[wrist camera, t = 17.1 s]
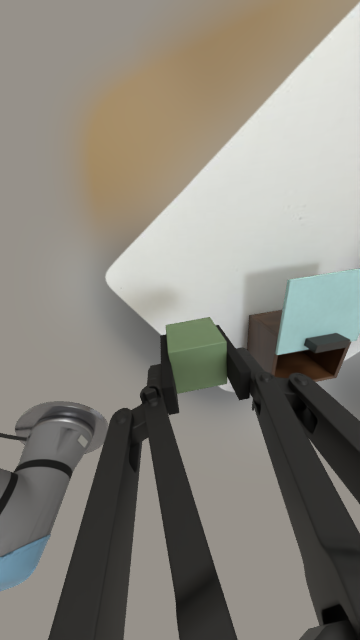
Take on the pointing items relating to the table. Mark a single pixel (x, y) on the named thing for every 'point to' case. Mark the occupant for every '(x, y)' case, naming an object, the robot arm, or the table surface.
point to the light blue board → (320, 312)
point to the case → (304, 362)
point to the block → (197, 354)
